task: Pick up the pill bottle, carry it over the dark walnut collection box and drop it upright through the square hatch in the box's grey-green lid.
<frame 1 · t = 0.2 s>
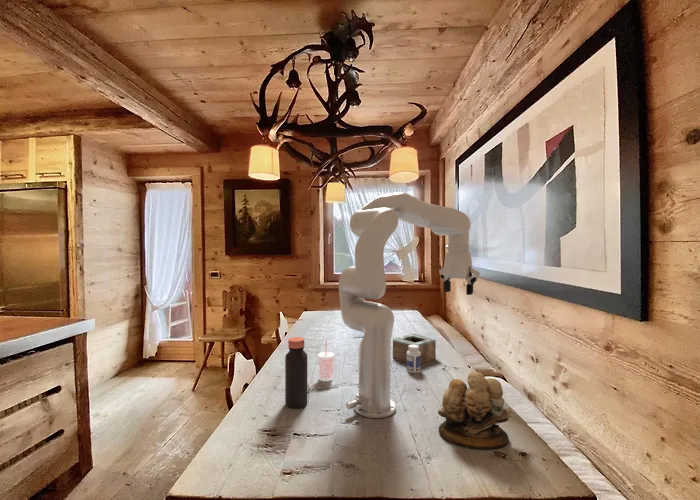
hand: (458, 293, 127), 31 cm above the table, fingers open, 9 cm apart
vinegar: (296, 404, 101), on the table
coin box: (414, 358, 142), on the table
owl figurine: (474, 436, 84), on the table
pill bottle: (413, 371, 128), on the table
beverage cup: (326, 379, 120), on the table
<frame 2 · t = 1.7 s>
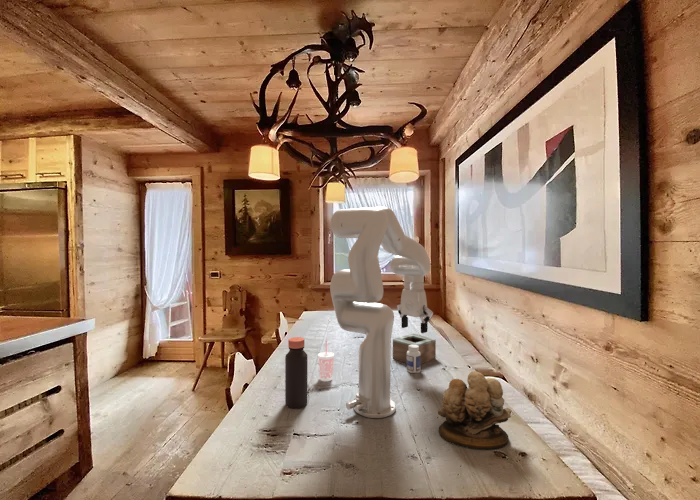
hand: (414, 329, 128), 16 cm above the table, fingers open, 9 cm apart
nothing on the table moved.
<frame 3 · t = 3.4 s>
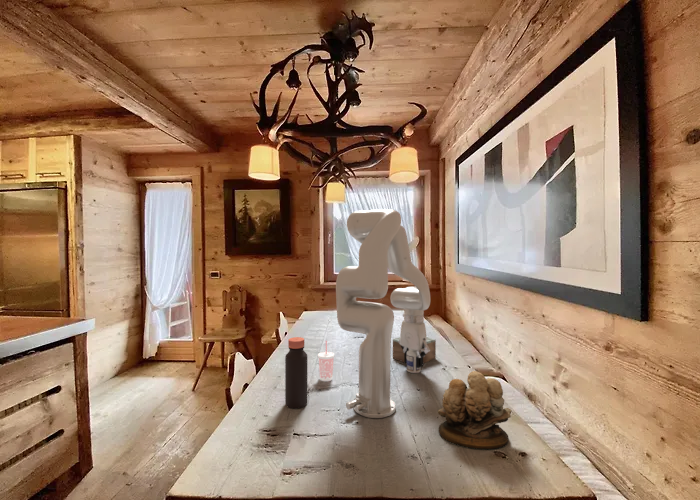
hand: (413, 364, 128), 3 cm above the table, fingers closed on pill bottle, 5 cm apart
pill bottle: (413, 371, 128), on the table, touching gripper
everything else where it was.
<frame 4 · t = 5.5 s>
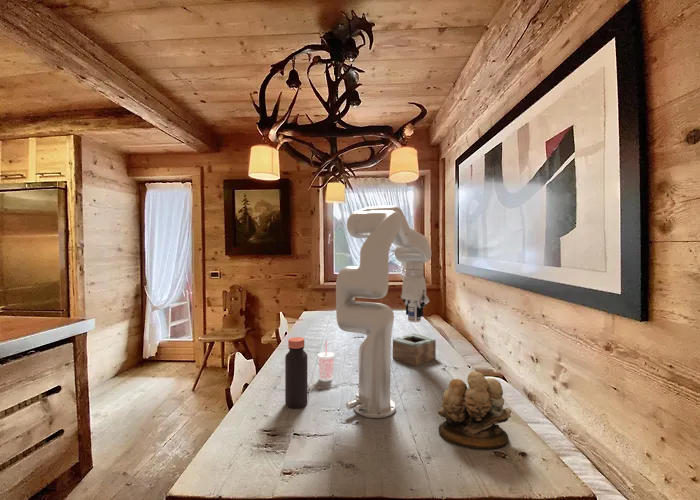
hand: (414, 315, 140), 19 cm above the table, fingers closed on pill bottle, 5 cm apart
pill bottle: (414, 321, 140), point 16 cm above the table, touching gripper
everything else where it was.
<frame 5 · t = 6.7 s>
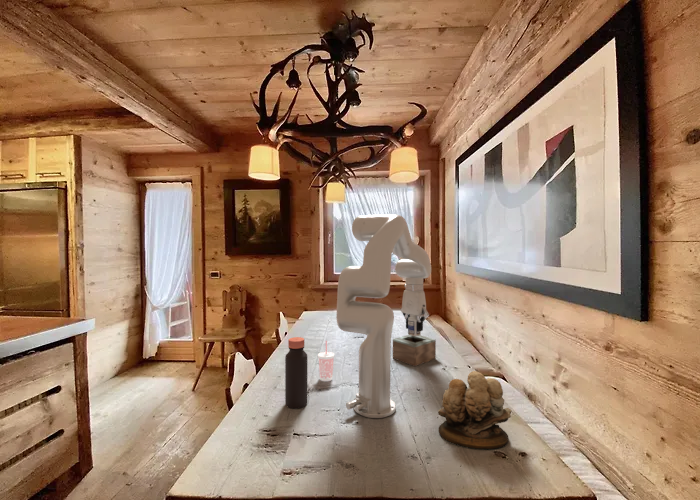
hand: (414, 329, 142), 13 cm above the table, fingers closed on pill bottle, 5 cm apart
pill bottle: (414, 335, 142), point 10 cm above the table, touching gripper
everything else where it was.
when the fingers open (10 cm above the table, at t = 7.6 s): pill bottle drops 6 cm, resting on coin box.
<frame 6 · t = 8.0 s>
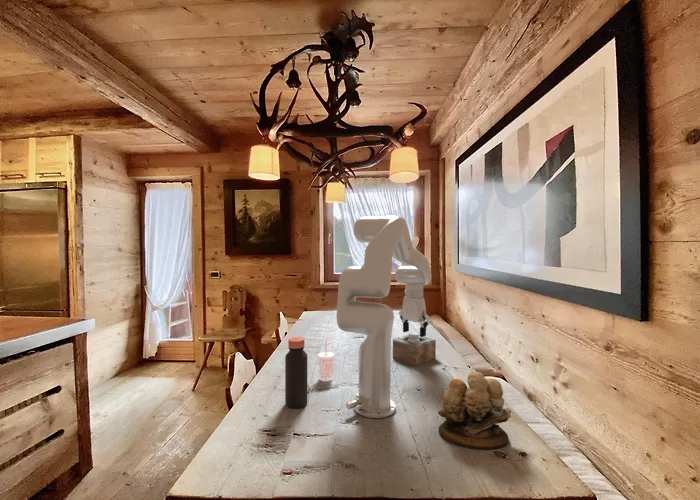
hand: (414, 333, 142), 11 cm above the table, fingers open, 9 cm apart
pill bottle: (414, 356, 142), point 1 cm above the table, touching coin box
everything else where it was.
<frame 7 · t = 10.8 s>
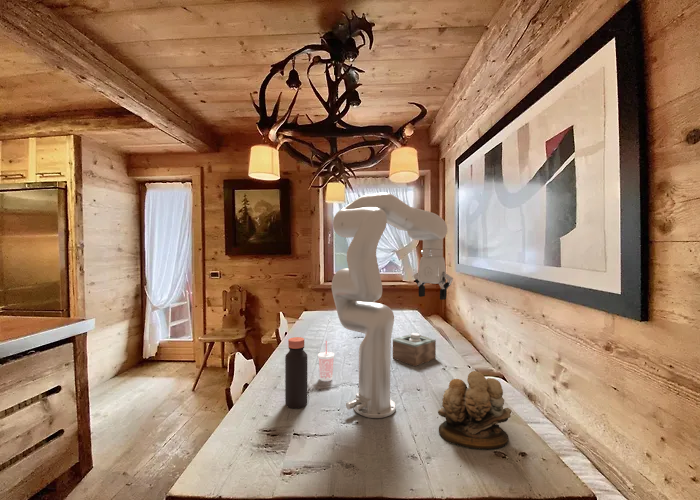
hand: (432, 297, 127), 29 cm above the table, fingers open, 9 cm apart
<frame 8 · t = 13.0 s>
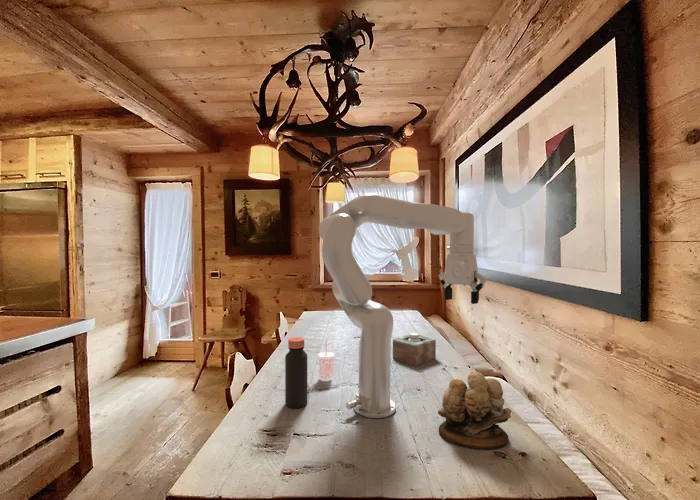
hand: (461, 301, 109), 30 cm above the table, fingers open, 9 cm apart
nothing on the table moved.
at the end: pill bottle inside the target area on the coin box (0.2 cm from its centre), point 0.7 cm above the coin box's base; the gripper is holding nothing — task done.
